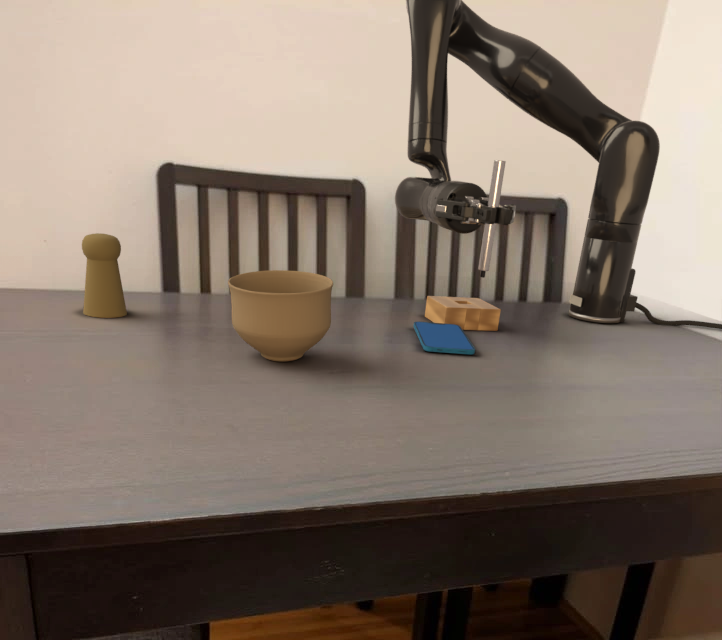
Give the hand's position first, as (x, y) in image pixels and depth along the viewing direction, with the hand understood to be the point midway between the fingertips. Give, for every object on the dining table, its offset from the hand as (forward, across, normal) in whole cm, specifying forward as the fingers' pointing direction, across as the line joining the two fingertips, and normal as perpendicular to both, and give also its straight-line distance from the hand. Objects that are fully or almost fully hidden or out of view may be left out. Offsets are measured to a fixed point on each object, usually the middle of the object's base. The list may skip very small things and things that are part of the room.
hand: (500, 216), depth 102 cm
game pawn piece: (-12, -54, +18) cm, 59 cm away
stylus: (-3, 0, +9) cm, 9 cm away
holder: (-13, +2, +18) cm, 22 cm away
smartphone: (0, -6, +18) cm, 19 cm away
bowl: (+11, -32, +18) cm, 39 cm away
